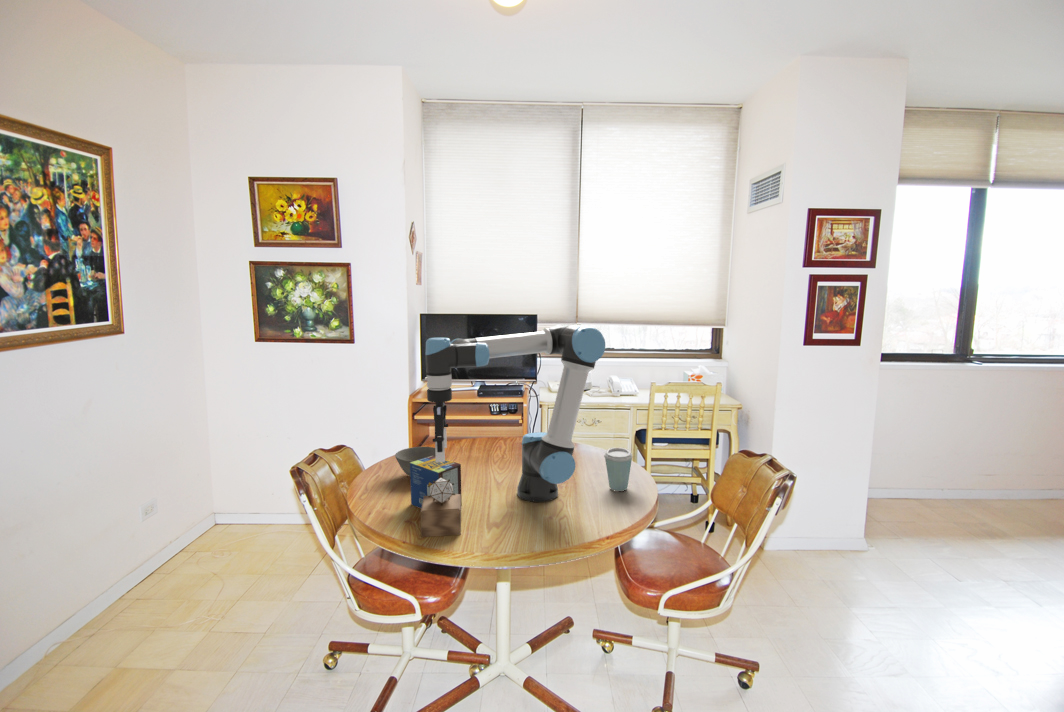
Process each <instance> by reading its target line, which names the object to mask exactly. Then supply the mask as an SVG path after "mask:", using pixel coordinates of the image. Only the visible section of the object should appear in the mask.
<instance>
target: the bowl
mask: <svg viewBox="0 0 1064 712" xmlns="http://www.w3.org/2000/svg"><path fill="white" fill-rule="evenodd" d="M432 455H433V456H436V455H435V446H434V447H433V446H414V447H413V446H412V447H407V448H403V449H401V450H398V451H397V452H396V453H395V454H394V457H395V460H396V461H397V463H398V464H399V465H398V466H399V467H400V468H401V470H402V471H403V472H404V474H406V475H407V476H408V477H409V478H410V462H413V461H417V460H420V459H423V458H426V457H429V456H432Z"/></svg>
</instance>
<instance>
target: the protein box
mask: <svg viewBox="0 0 1064 712" xmlns="http://www.w3.org/2000/svg"><path fill="white" fill-rule="evenodd" d="M461 469H462V464H461V463H458V462H455V461H452V460H449V459H446V458H445V462H436V456H433V455H432V456H429V457H426V458H423V459H420V460H417V461H413V462H410V477H409V478H410V505H412V506H414V507H416V508H419V509H421V508H422V503H423V498H424V496H430V487H428V485H429V486H431V485H432V484H433V483H434V482H433V481H437V480H438V479H439V478H440V475H441V476H442V477H441V478H443V479H446V480H449V479H450V481H449V482H450V483H451V484H452V483H454V485H452V487H453V494H461V495H462V470H461ZM461 507H463V505H462V500H461Z"/></svg>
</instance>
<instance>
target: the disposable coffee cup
mask: <svg viewBox="0 0 1064 712" xmlns="http://www.w3.org/2000/svg"><path fill="white" fill-rule="evenodd" d="M603 457H604V459H605V466H606V472H607V479H608V486H609V489H610V488H611V489H612V490H615V491H624V490H626V491H627V489H628V486H629V479H630V474H631V468H632V467H631V465H632V461H633V453H632V452H631V451H630V450H629V449H627V448H624V447H610V448H608V449H606V452H604V456H603ZM611 489H610V490H611ZM612 490H611V491H612ZM615 491H614V492H615ZM624 492H625V491H624Z"/></svg>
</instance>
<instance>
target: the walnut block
mask: <svg viewBox="0 0 1064 712" xmlns="http://www.w3.org/2000/svg"><path fill="white" fill-rule="evenodd" d="M428 497H429V496H424V498H423V503H422V508H420V537H421V538H423V537H440V536H441V537H443V536H457V535H462V533H461V532H462V506H461V501H462V493H461V494H455V495H452V496H451V497H450V500H448V499H447V500H446V501H445V502H444V503H443V506H442V505H441V504H442V503H440V502H438V501H436V500H434V501H433V498H432V497H430V498H428Z"/></svg>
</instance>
